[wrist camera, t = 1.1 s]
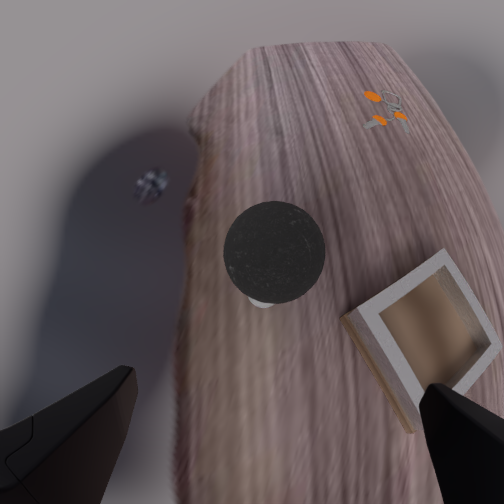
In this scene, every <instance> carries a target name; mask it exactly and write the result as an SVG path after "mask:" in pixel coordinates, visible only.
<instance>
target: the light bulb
mask: <svg viewBox="0 0 504 504" xmlns="http://www.w3.org/2000/svg"><path fill="white" fill-rule="evenodd" d="M223 256H224V262H225V266H226V269H227V272H228V274H229V276H230V278H231V280H232V282H233V283H234V284H235V286H236V287H237V288H238V289H239V290H240V291H241V292H243V293H244V294H246V295H247V296H248V298H249V300H250V301H251V303H252V304H254V305H255V306H257V307H260V308H268V307H271V306H273V305H274V304H279V303H286V302H289V301H292V300H295V299H297V298H298V297H300V296H302V295H304V294H305V293H306V292H307V291H308V290H309V289H310V288H311V287H312V286H313V285H314V284H315V283H316V281H317V280H318V278H319V276H320V274H321V272H322V269H323V265H324V261H325V243H324V239H323V235H322V233H321V231H320V229H319V227H318V225H317V224H316V222H315V221H314V220H313V218H312V217H311V216H310V215H309V214H308V213H306V212H305V211H304V210H303V209H301V208H299V207H297V206H295V205H292V204H290V203H285V202H279V201H270V202H263V203H260V204H257V205H255V206H252V207H250V208H249V209H247V210H246V211H244V212H243V213H242V214H241V215H239V216H238V217H237V218H236V220H235V221H234V223H233V224H232V226H231V227H230V229H229V231H228V233H227V236H226V240H225V244H224V255H223Z"/></svg>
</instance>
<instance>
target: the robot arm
mask: <svg viewBox="0 0 504 504" xmlns="http://www.w3.org/2000/svg"><path fill="white" fill-rule="evenodd" d="M137 394H138V386H137V379H136V372H135V369H134V368H133V367H129V366H125V365H120V366H118V367H116V368H115V369H113V370H111V371H109V372H108V373H106V374H104V375H103V376H101V377H99V378H97V379H96V380H94V381H92V382H90V383H89V384H87V385H85V386H84V387H82V388H80V389H78V390H76V391H75V392H73V393H71V394H69V395H67V396H66V397H64V398H62V399H60V400H59V401H57V402H55V403H53V404H51V405H49V406H48V407H46V408H44V409H42V410H40V411H39V412H37V413H35V414H34V415H33V416H32V415H31V416H29V417H27V418H25V419H24V420H22V421H20V422H18V423H16V424H14V425H12V426H10V427H8V428H5V429H3V430H0V504H100V503H101V500H102V498H103V495H104V492H105V490H106V487H107V484H108V482H109V479H110V476H111V474H112V472H113V469H114V466H115V464H116V461H117V459H118V456H119V454H120V451H121V449H122V446H123V444H124V441H125V438H126V435H127V432H128V428H129V424H130V421H131V417H132V413H133V409H134V405H135V402H136V399H137ZM419 411H420V416H421V420H422V424H423V429H424V433H425V438H426V443H427V447H428V450H429V453H430V456H431V460H432V463H433V466H434V469H435V473H436V476H437V480H438V483H439V487H440V490H441V494H442V498H443V502H444V504H504V419H502V418H501V417H499V416H497V415H495V414H494V413H492V412H490V411H488V410H487V409H485V408H483V407H482V406H480V405H478V404H476V403H475V402H473V401H471V400H470V399H468V398H466V397H464V396H463V395H461V394H459V393H458V392H456V391H454V390H452V389H451V388H449V387H447V386H446V385H444V384H442V383H431V384H429V385H428V387H427V388H426V390H425V392H424V394H423V396H422V398H421V400H420V403H419Z"/></svg>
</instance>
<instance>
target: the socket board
mask: <svg viewBox="0 0 504 504" xmlns="http://www.w3.org/2000/svg"><path fill="white" fill-rule="evenodd" d="M431 257H432V256H431ZM431 257H430V258H431ZM427 260H428V259H427ZM427 260H426V261H427ZM423 263H424V262H423ZM423 263H422V264H423ZM420 265H421V264H420ZM420 265H419V266H420ZM416 268H417V267H416ZM416 268H415V269H416ZM413 270H414V269H413ZM413 270H412V271H413ZM410 272H411V271H410ZM410 272H409V273H410ZM406 275H407V274H406ZM406 275H405V276H406ZM403 277H404V276H403ZM403 277H402V278H403ZM400 279H401V278H400ZM400 279H399V280H400ZM397 281H398V280H397ZM397 281H396V282H397ZM394 283H395V282H394ZM394 283H393V284H394ZM391 285H392V284H391ZM391 285H390V286H391ZM388 287H389V286H388ZM388 287H387V288H388ZM385 289H386V288H385ZM385 289H384V290H385ZM382 291H383V290H382ZM382 291H381V292H382ZM379 293H380V292H379ZM379 293H378V294H379ZM376 295H377V294H376ZM376 295H375V296H376ZM373 297H374V296H373ZM373 297H372V298H373ZM370 299H371V298H370ZM370 299H368V300H370ZM368 300H367V301H368ZM365 302H366V301H365ZM365 302H364V303H365ZM362 304H363V303H362ZM362 304H361V305H362ZM359 306H360V305H359ZM357 307H358V306H357ZM357 307H356V308H357ZM356 308H354V309H353V310H355V309H356ZM353 310H351V311H349V312H348V313H346V314H344V315H343V316H342V317H341V318H340V321H341V322H342V324H343V325H344V327H345V329H346V330H347V332H348V334H349V335H350V337H351V339H352V340H353V342H354V343H355V345H356V347H357V348H358V350H359V352H360V353H361V355H362V357H363V358H364V360H365V362H366V363H367V365H368V367H369V368H370V370H371V372H372V374H373V375H374V377H375V379H376V380H377V382H378V384H379V385H380V387H381V389H382V391H383V392H384V394H385V396H386V398H387V399H388V401H389V403H390V404H391V406H392V408H393V410H394V412H395V413H396V415H397V417H398V419H399V420H400V422H401V424H402V426H403V427H404V429H405V431H406V433H414V432H415V431H417V430H414V429H413V427H412V425H411V424H410V422H409V420H408V418H407V416H406V415H405V413H404V411H403V409H402V408H401V406H400V404H399V402H398V400H397V399H396V397H395V395H394V393H393V392H392V390H391V388H390V387H389V385H388V383H387V381H386V380H385V378H384V376H383V375H382V373H381V371H380V369H379V368H378V366H377V364H376V363H375V361H374V359H373V358H372V356H371V354H370V353H369V351H368V349H367V348H366V346H365V344H364V343H363V341H362V339H361V338H360V336H359V334H358V333H357V331H356V330H355V328H354V326H353V325H352V323H351V321H350V320H349V318H348V317H347V316H348V315H349V314H350V313H351V312H352V311H353ZM379 316H380V317H381V319H382V320H383V322H384V324H385V325H386V327H387V329H388V330H389V332H390V333H391V335H392V337H393V338H394V340H395V342H396V343H397V345H398V347H399V348H400V350H401V352H402V353H403V355H404V357H405V359H406V360H407V362H408V364H409V365H410V367H411V369H412V371H413V372H414V374H415V376H416V378H417V379H418V381H419V383H420V385H421V387H422V388H423V390H424V392H425V390H426V388H427V387H428V385H429V384H431V383H442V384H444V385H445V384H446V383H447V382H448V381H449V380H450V379H451V378H452V377H453V376H454V375H455V373H456V372H457V371H458V370H459V369H460V368H461V367H462V366H463V365H464V364H465V363H466V362H467V361H468V359H469V358H470V357H471V356H472V355H473V354H474V353H475V351H476V350H477V348H476V346H475V344H474V342H473V340H472V339H471V337H470V335H469V333H468V331H467V329H466V328H465V326H464V324H463V322H462V321H461V319H460V317H459V316H458V314H457V312H456V311H455V309H454V307H453V306H452V304H451V302H450V301H449V299H448V297H447V296H446V294H445V293H444V291H443V289H442V288H441V286H440V285H439V283H438V282H437V280H436V279H435V277H434V276H433V274H432V275H431V276H430V277H429V278H427V279H426V280H425V281H423V282H422V283H421V284H419V285H418V286H417V287H415V288H414V289H413V290H411V291H410V292H409V293H407V294H406V295H405V296H403V297H402V298H400V299H399V300H398V301H396V302H395V303H393V304H392V305H391V306H389V307H388V308H386V309H385V310H383V311H382V312H380V313H379Z"/></svg>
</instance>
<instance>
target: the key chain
mask: <svg viewBox="0 0 504 504" xmlns="http://www.w3.org/2000/svg"><path fill="white" fill-rule="evenodd" d="M384 92H386V93H389V94H392V95H394V96H396V97H398V98H399V104H395V103H389V102H387V100H386V98H385V95H384ZM382 93H383V96H384V99H385V100H382V99H381V98H380V96H378V95H377V94H375V93H373V92H370V91H366V92H364V95H365V96H366V97H367V98H368V99H370V100H372V101H376V102H379V101H381V100H382V101H384V102H385V103H386V104H388V107H387V110H388V111H389V112H390V113H391V114H393V115H394V116H393V118H391V119H384V118H382V117H381V116H377V115H375V116H373V117H372V118H373V120H371V121H372V122H370V121H368V123H367V124H363V126H364V127H365V128H366V129H369V128H371V127H373V126H375V125H377V124H379V125H383V126H385V125H386V124H387V122H386V120H387V121H389V120H390V121H391V120H393V119H395V118H397V119H398V120H399V121H400V122H401V124H402V126H403V128H404V131H405V132H406V133H408V134H409V129H408V128H409V127H408V126H407V125H406V124H407V123H406V121H407V118H406V116H405V115H403V114H402V113H400V112H401V111H402V108H401V97H399V96H398V95H396V94H393V93H391V92H388V91H384V90H382ZM390 105H391V106H390ZM392 106H393V107H392ZM394 107H396V108H400V110H397V109H396V108H394ZM392 108H393V109H392ZM389 109H390V110H392V111H393V112H395V113H392V112H391V111H390V110H389ZM407 127H408V128H407Z"/></svg>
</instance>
